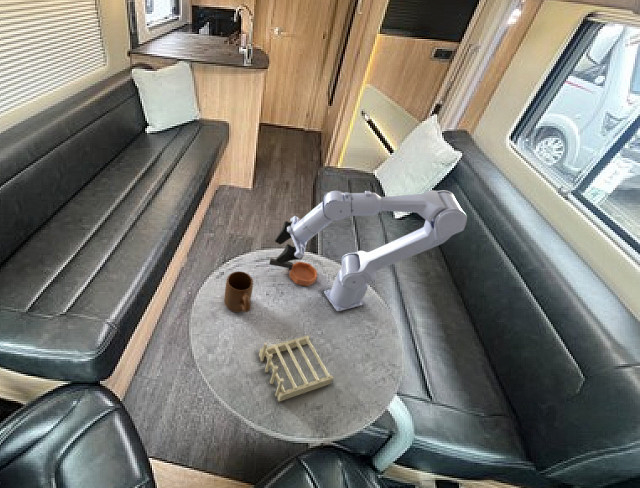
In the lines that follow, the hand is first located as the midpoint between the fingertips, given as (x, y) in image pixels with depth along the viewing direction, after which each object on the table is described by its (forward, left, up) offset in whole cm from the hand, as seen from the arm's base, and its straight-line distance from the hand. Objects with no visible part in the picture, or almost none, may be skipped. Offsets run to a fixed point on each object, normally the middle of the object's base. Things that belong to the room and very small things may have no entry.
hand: (278, 251), depth 95 cm
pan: (-8, -2, -13) cm, 16 cm away
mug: (+13, +7, -13) cm, 20 cm away
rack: (+6, +28, -13) cm, 32 cm away
